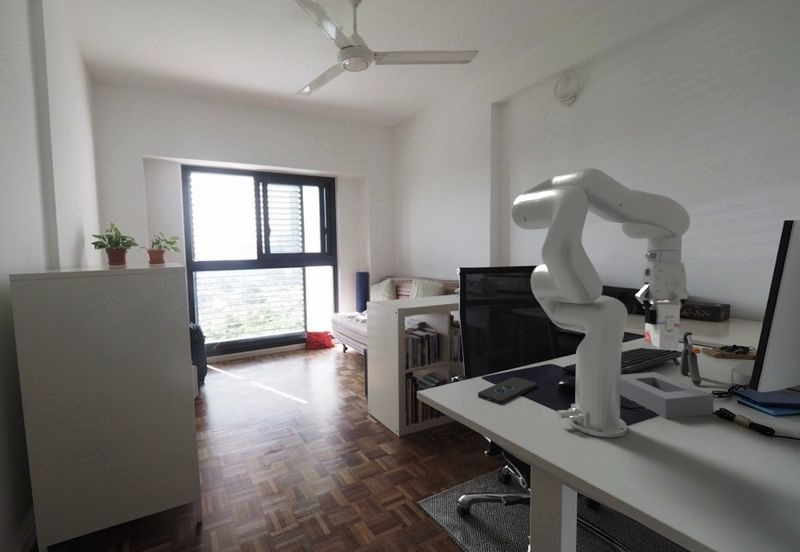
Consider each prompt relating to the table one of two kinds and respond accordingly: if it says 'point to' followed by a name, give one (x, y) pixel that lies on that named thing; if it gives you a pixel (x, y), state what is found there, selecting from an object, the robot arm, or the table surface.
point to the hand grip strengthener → (690, 359)
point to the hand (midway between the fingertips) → (661, 322)
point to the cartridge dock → (666, 395)
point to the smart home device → (506, 390)
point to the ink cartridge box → (665, 325)
